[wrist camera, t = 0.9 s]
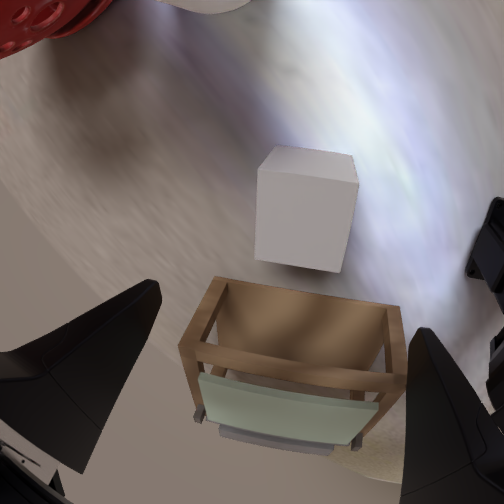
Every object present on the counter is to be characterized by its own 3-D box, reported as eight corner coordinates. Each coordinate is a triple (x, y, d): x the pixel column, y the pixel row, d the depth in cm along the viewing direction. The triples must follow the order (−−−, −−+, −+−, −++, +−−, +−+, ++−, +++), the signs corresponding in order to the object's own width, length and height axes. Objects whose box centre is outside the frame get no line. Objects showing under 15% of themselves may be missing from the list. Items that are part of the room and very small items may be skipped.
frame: (399, 306, 21) (411, 403, 14) (361, 379, 28) (356, 455, 21) (214, 276, 24) (169, 361, 17) (221, 355, 30) (192, 425, 23)
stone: (351, 154, 16) (359, 183, 12) (339, 227, 19) (339, 273, 15) (276, 144, 17) (257, 169, 13) (271, 216, 20) (254, 259, 16)
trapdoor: (381, 400, 16) (381, 415, 15) (342, 445, 22) (340, 456, 21) (199, 368, 19) (192, 382, 18) (211, 422, 24) (207, 432, 23)
